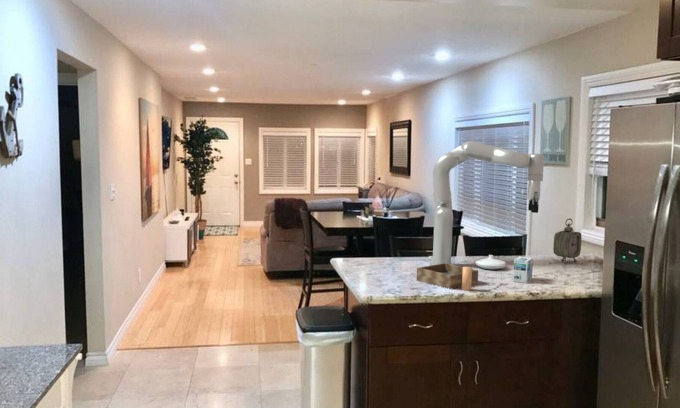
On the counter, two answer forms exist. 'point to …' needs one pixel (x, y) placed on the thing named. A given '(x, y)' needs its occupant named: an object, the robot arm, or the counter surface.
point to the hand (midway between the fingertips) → (533, 211)
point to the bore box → (444, 275)
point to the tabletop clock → (567, 243)
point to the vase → (490, 263)
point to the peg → (466, 278)
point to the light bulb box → (523, 269)
